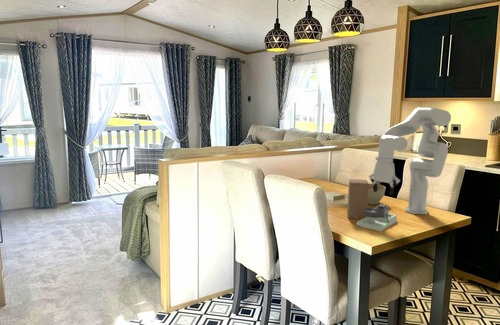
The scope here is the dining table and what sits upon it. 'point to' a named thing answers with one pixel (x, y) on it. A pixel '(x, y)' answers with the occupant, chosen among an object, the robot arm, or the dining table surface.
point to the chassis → (377, 222)
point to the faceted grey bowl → (370, 213)
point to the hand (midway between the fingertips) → (383, 192)
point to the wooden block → (357, 198)
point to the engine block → (384, 209)
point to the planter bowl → (375, 194)
